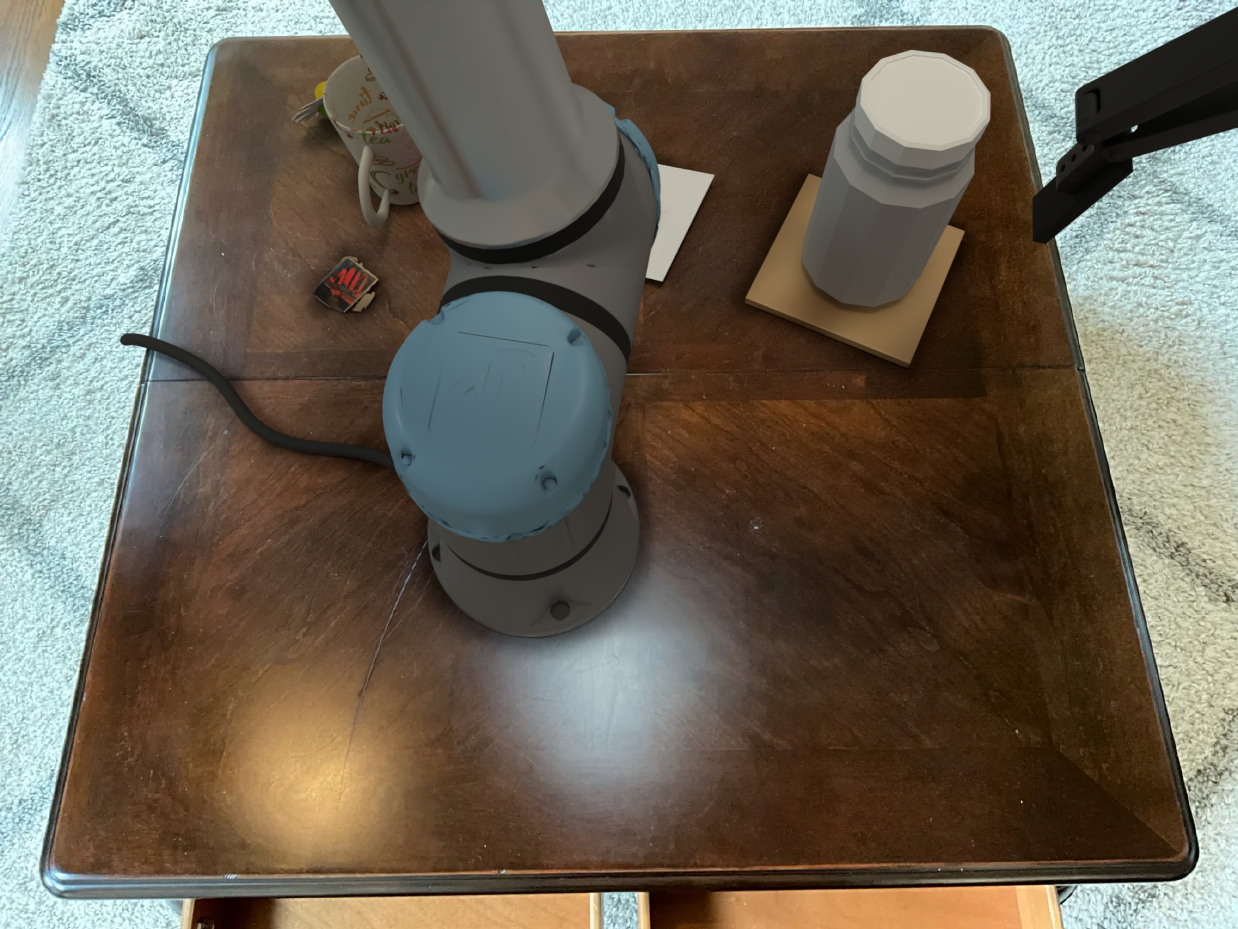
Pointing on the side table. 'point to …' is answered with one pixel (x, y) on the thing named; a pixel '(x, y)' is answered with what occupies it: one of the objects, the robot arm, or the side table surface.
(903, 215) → the jar
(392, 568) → the side table surface
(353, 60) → the mug
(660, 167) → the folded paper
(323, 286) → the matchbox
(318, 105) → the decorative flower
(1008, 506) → the side table surface
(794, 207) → the cork mat
